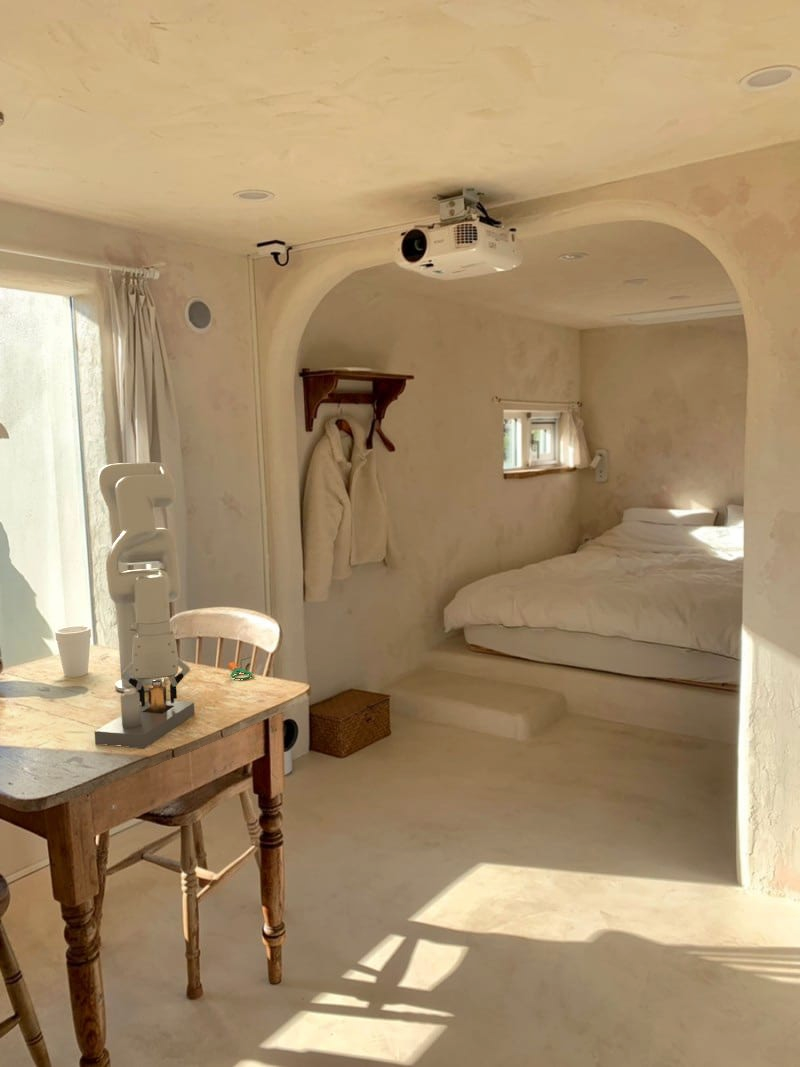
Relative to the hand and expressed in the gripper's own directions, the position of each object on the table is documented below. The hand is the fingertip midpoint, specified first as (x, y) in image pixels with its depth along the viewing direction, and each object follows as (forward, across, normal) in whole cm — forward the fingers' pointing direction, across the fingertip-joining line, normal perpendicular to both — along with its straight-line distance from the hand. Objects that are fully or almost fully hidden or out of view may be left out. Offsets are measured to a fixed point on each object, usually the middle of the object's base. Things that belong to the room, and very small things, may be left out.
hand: (157, 702), depth 191 cm
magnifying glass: (+5, +21, +34) cm, 41 cm away
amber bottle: (+5, 0, 0) cm, 5 cm away
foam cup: (+5, -24, +49) cm, 55 cm away
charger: (+5, -2, -4) cm, 7 cm away
